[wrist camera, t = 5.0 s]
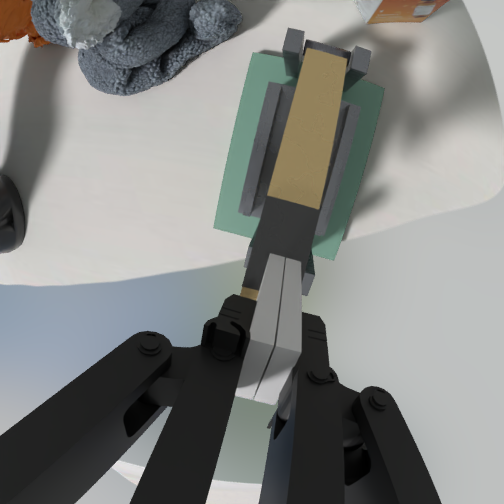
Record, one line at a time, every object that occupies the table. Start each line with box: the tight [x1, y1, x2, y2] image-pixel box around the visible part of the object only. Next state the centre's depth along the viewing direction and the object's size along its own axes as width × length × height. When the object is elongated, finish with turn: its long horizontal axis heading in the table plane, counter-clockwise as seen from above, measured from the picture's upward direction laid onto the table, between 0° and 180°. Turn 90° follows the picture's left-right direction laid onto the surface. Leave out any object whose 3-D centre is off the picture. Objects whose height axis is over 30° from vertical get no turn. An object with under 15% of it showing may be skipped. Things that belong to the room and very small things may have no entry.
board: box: [213, 52, 385, 260], centre depth 27 cm, size 20×14×1 cm
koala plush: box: [31, 0, 242, 96], centre depth 15 cm, size 17×18×20 cm
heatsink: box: [238, 28, 371, 296], centre depth 23 cm, size 20×8×10 cm, turn 167°
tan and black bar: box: [240, 39, 351, 300], centre depth 16 cm, size 20×3×2 cm, turn 168°
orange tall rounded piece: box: [0, 0, 51, 48], centre depth 14 cm, size 11×11×18 cm
